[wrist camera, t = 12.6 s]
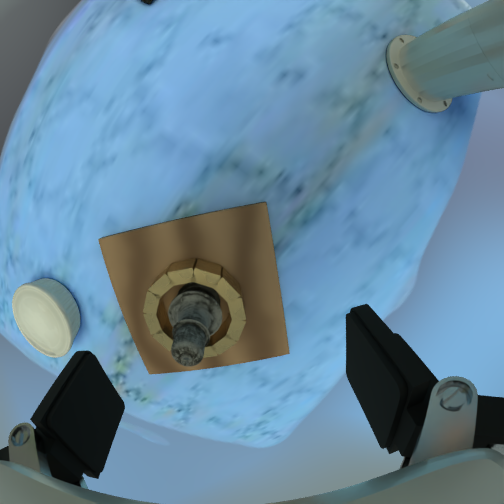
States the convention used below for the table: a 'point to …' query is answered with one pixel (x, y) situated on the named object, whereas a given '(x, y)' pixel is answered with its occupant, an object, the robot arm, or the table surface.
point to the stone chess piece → (193, 322)
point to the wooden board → (181, 248)
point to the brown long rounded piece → (147, 1)
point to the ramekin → (46, 316)
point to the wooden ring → (203, 275)
